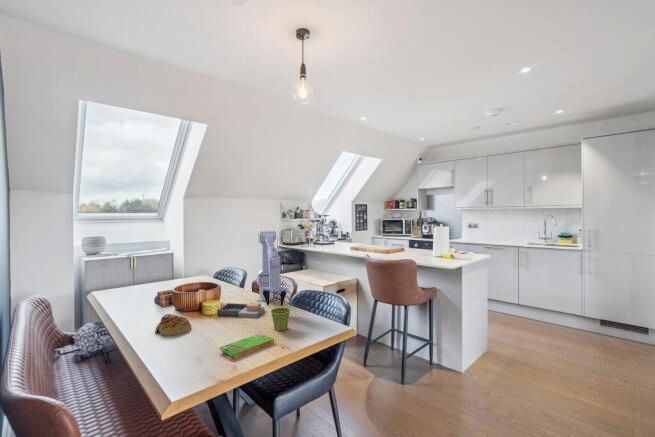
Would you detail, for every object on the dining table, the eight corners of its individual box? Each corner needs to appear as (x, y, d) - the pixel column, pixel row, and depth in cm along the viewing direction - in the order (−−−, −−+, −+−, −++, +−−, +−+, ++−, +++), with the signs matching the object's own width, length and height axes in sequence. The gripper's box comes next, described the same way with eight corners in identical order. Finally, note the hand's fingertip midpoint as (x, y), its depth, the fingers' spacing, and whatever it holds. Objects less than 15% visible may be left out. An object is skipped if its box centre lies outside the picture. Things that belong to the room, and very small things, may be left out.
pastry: (157, 328, 150) (157, 311, 150) (191, 324, 155) (191, 307, 155) (153, 338, 138) (152, 320, 137) (190, 333, 143) (190, 316, 143)
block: (250, 306, 175) (250, 302, 175) (260, 307, 174) (260, 303, 174) (246, 310, 169) (246, 305, 169) (256, 310, 168) (256, 306, 168)
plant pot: (289, 332, 144) (289, 313, 144) (268, 332, 144) (268, 313, 144) (292, 325, 153) (291, 307, 153) (272, 325, 154) (272, 307, 153)
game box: (274, 345, 133) (231, 360, 117) (260, 339, 139) (217, 353, 124) (274, 338, 133) (231, 352, 117) (260, 332, 139) (217, 345, 124)
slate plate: (247, 309, 177) (247, 305, 177) (264, 310, 176) (264, 306, 176) (238, 316, 165) (238, 312, 165) (256, 317, 164) (256, 313, 164)
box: (228, 308, 179) (228, 303, 179) (247, 309, 177) (247, 304, 177) (217, 315, 167) (217, 309, 167) (238, 316, 165) (238, 310, 165)
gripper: (259, 280, 167) (259, 306, 167) (285, 281, 164) (285, 307, 165) (263, 278, 174) (264, 302, 174) (289, 279, 171) (289, 303, 172)
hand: (274, 305), depth 170 cm, fingers open, 7 cm apart
